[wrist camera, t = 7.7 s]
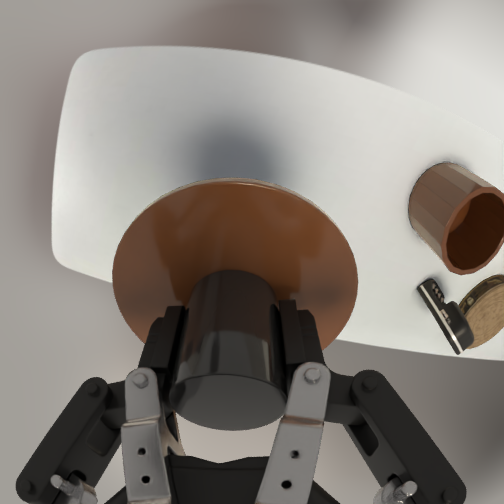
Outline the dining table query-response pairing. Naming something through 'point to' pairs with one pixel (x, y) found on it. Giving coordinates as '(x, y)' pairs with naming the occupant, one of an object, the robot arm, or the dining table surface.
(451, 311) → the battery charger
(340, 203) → the dining table surface
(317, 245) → the crock lid
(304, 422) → the robot arm
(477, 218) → the crock
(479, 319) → the wood log slice
